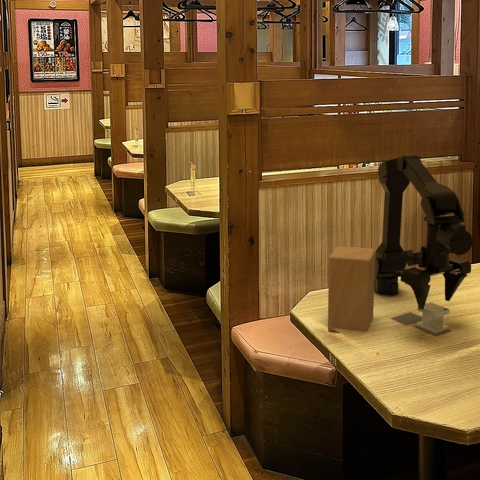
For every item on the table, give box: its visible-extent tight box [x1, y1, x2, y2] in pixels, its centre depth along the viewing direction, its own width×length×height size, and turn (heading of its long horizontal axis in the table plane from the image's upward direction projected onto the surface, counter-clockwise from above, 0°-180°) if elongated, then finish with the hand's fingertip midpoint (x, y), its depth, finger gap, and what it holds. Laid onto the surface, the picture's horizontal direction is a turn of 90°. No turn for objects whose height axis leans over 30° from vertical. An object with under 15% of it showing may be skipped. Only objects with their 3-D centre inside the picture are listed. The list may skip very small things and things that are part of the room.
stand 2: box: [413, 325, 452, 338], centre depth 164 cm, size 7×6×2 cm
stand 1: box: [390, 311, 423, 326], centre depth 171 cm, size 6×7×2 cm
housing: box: [416, 301, 450, 335], centre depth 164 cm, size 4×6×6 cm
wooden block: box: [327, 245, 376, 334], centre depth 167 cm, size 10×10×20 cm
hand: (434, 304), depth 162 cm, fingers open, 9 cm apart
